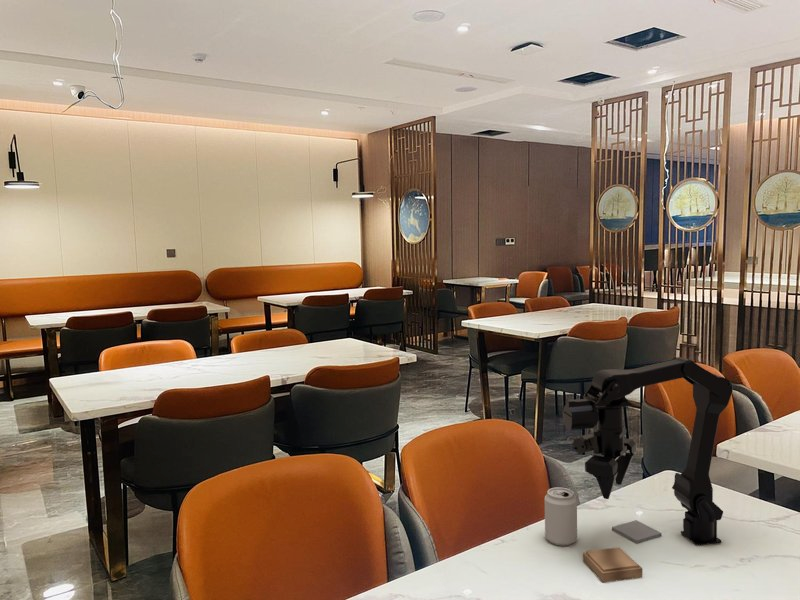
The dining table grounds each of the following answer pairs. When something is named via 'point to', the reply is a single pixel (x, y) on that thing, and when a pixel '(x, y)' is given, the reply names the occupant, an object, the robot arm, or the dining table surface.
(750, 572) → the dining table surface
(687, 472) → the robot arm
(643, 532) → the slate coaster
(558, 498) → the can
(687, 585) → the dining table surface
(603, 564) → the plinth
